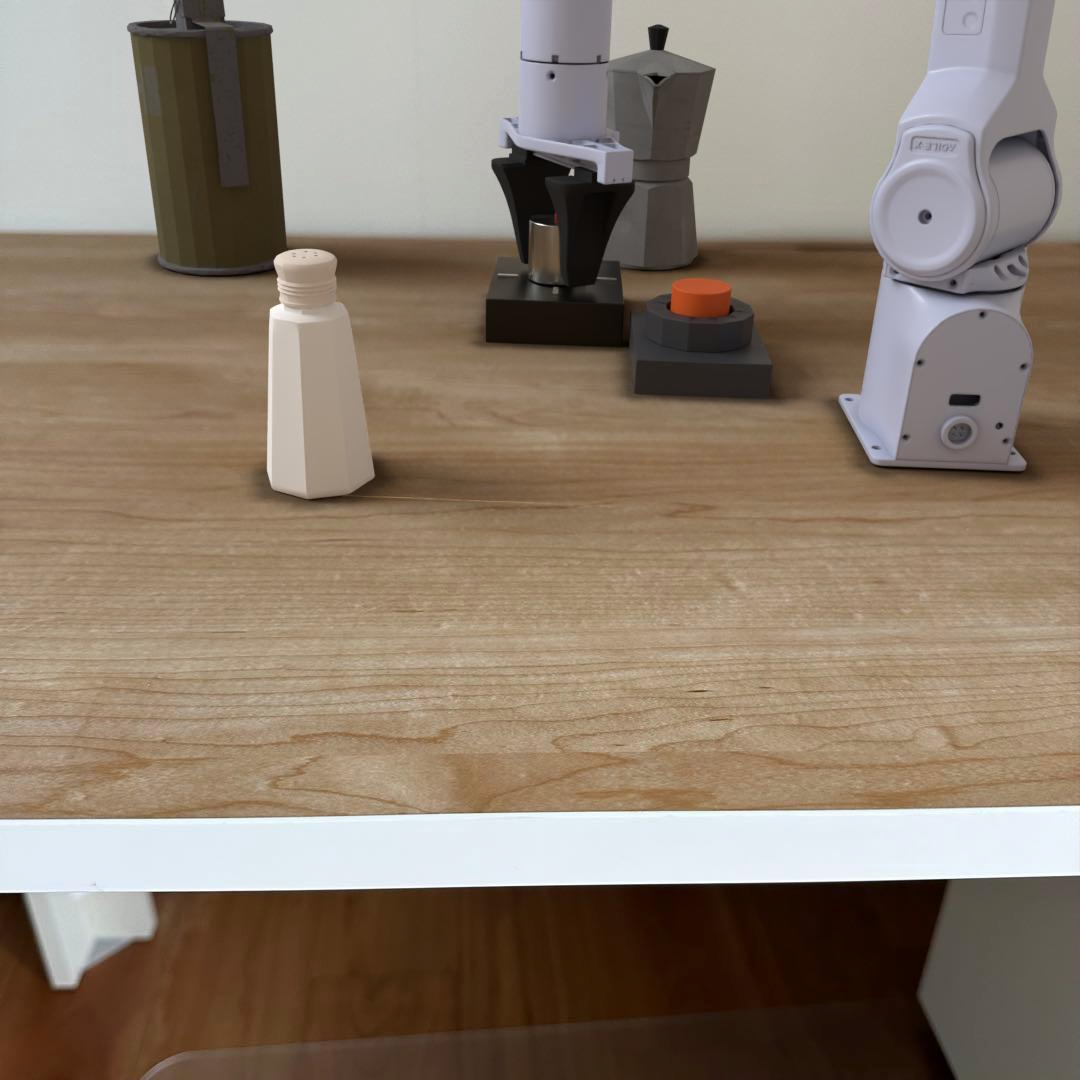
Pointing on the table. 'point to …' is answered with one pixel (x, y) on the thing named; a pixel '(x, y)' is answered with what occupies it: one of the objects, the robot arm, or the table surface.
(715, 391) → the switch block
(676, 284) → the power button
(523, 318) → the dial panel
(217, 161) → the canister
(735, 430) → the table surface
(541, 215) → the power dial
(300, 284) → the pepper shaker
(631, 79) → the coffeepot
